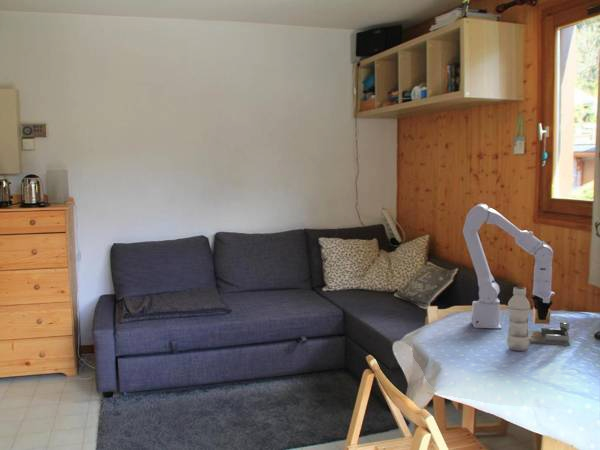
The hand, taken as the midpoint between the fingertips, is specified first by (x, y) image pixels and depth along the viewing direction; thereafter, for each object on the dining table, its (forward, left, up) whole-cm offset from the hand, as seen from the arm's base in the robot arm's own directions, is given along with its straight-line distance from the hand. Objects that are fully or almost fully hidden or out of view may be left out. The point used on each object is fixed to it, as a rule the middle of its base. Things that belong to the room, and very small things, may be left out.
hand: (540, 317), depth 198 cm
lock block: (0, 0, -2) cm, 2 cm away
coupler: (+1, -9, -5) cm, 10 cm away
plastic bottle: (-11, -21, -5) cm, 24 cm away
